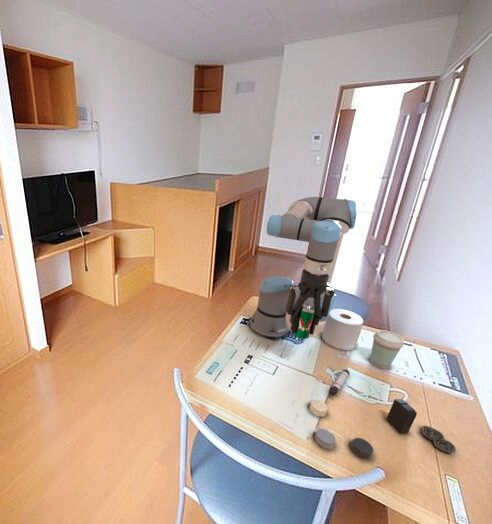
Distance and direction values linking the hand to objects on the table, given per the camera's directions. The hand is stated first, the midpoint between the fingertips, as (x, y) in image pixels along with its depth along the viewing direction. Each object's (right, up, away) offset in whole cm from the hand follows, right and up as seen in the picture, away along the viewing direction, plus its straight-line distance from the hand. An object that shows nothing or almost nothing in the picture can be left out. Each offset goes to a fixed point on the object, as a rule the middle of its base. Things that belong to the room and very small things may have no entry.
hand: (301, 331), depth 105 cm
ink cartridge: (+18, -23, -18) cm, 34 cm away
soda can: (0, -2, +1) cm, 2 cm away
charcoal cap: (+2, -26, -25) cm, 36 cm away
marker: (+10, -17, -4) cm, 20 cm away
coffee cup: (+32, -13, +6) cm, 35 cm away
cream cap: (-2, -21, -13) cm, 25 cm away
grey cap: (-6, -25, -23) cm, 34 cm away
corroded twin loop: (+25, -25, -23) cm, 42 cm away
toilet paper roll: (+25, -8, +19) cm, 32 cm away
